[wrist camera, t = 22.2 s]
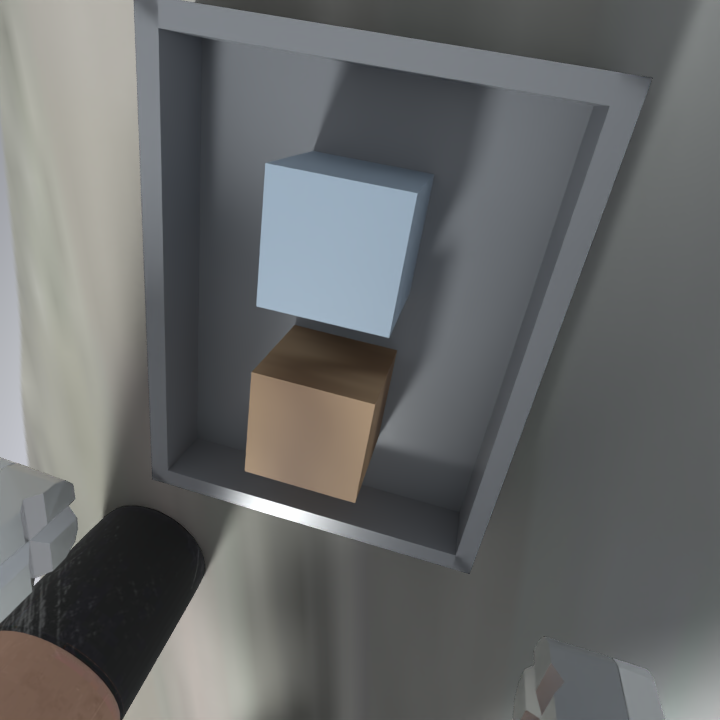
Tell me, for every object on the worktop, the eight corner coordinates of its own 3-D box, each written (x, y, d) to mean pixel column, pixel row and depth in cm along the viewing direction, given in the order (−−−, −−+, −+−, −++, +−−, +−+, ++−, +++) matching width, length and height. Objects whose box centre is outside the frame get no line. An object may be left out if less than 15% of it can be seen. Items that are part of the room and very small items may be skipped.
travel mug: (105, 578, 35) (-293, 1060, 17) (89, 488, 31) (-432, 979, 14) (212, 608, 33) (-100, 1160, 16) (207, 518, 30) (-198, 1100, 12)
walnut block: (397, 350, 22) (375, 404, 18) (378, 437, 24) (354, 503, 20) (294, 324, 22) (251, 371, 18) (285, 411, 24) (244, 470, 20)
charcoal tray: (472, 517, 26) (469, 573, 23) (190, 437, 28) (152, 479, 24) (624, 82, 17) (653, 77, 14) (192, 10, 19) (133, -8, 16)
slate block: (409, 293, 21) (389, 337, 17) (301, 268, 21) (256, 306, 17) (434, 174, 18) (417, 193, 15) (313, 150, 19) (265, 162, 15)
